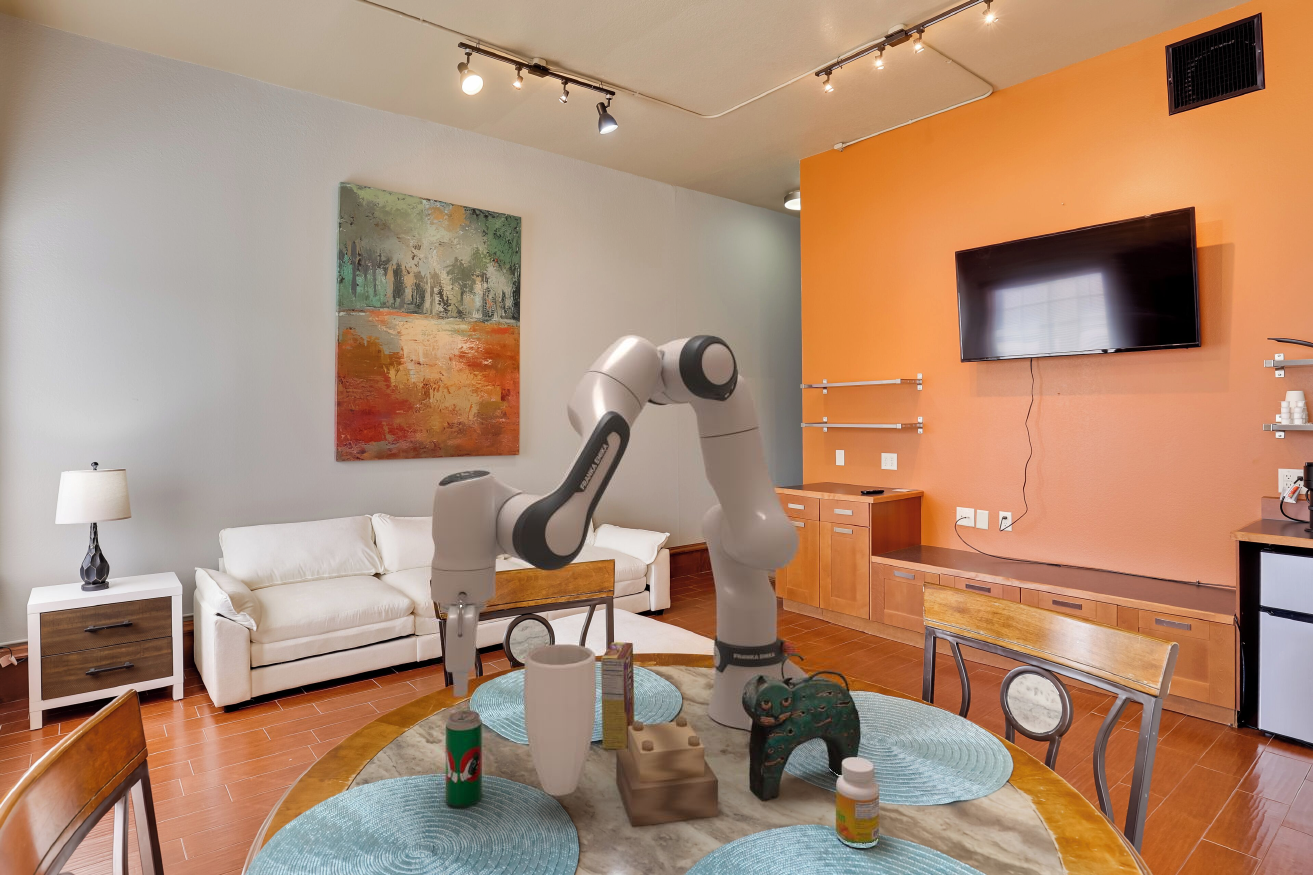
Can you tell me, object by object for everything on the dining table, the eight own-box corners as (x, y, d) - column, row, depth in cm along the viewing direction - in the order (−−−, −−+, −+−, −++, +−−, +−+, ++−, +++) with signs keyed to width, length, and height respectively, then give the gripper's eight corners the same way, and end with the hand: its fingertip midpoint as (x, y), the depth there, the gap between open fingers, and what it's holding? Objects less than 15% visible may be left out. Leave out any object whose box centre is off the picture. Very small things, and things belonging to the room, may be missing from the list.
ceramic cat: (756, 808, 100) (757, 666, 99) (732, 786, 106) (733, 652, 105) (867, 778, 108) (868, 647, 108) (839, 760, 114) (840, 636, 114)
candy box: (611, 726, 126) (611, 641, 126) (635, 728, 126) (635, 642, 126) (600, 748, 118) (600, 657, 117) (625, 750, 117) (626, 658, 117)
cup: (565, 837, 92) (565, 672, 92) (506, 813, 98) (506, 657, 97) (612, 801, 101) (612, 650, 101) (555, 782, 107) (555, 638, 106)
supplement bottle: (829, 827, 95) (830, 754, 95) (869, 825, 95) (869, 753, 95) (843, 851, 90) (844, 774, 89) (885, 849, 90) (886, 773, 90)
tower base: (693, 774, 109) (693, 710, 109) (717, 815, 98) (718, 744, 97) (616, 782, 106) (616, 717, 106) (631, 826, 95) (632, 753, 95)
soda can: (487, 791, 104) (487, 709, 104) (474, 810, 99) (475, 724, 98) (453, 789, 104) (453, 708, 104) (439, 808, 99) (439, 722, 99)
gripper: (486, 602, 92) (484, 709, 92) (486, 570, 112) (485, 658, 112) (434, 603, 90) (433, 712, 90) (444, 572, 110) (443, 661, 110)
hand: (462, 682), depth 101 cm, fingers open, 8 cm apart
